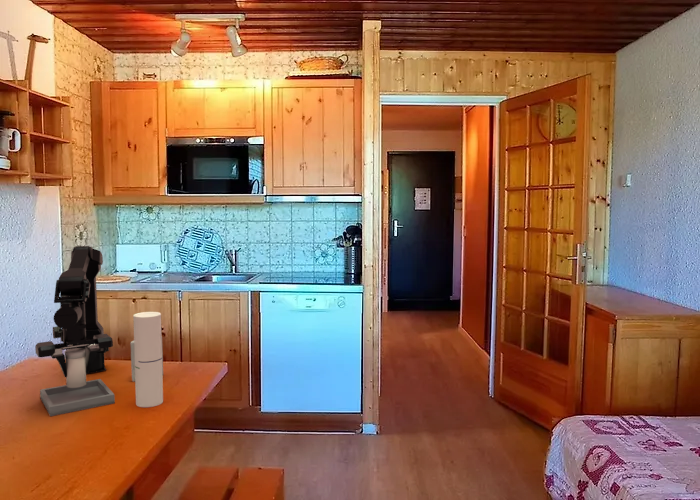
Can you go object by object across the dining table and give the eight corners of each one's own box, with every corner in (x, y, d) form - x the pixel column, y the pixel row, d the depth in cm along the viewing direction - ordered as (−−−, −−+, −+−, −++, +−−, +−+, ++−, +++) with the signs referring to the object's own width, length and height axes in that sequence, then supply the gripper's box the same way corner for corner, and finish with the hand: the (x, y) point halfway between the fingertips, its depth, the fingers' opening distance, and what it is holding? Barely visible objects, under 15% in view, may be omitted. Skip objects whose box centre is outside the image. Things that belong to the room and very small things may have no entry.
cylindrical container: (154, 408, 152) (152, 317, 149) (130, 406, 153) (127, 316, 151) (167, 398, 159) (165, 312, 156) (145, 396, 160) (142, 311, 158)
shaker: (84, 380, 160) (83, 347, 159) (88, 385, 156) (87, 351, 155) (64, 384, 157) (63, 349, 156) (68, 389, 153) (66, 354, 152)
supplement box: (164, 374, 180) (163, 336, 178) (153, 382, 172) (152, 342, 171) (142, 374, 180) (141, 335, 179) (130, 381, 173) (129, 341, 172)
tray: (100, 386, 168) (100, 378, 168) (114, 403, 155) (114, 394, 155) (40, 398, 158) (39, 389, 158) (50, 416, 146) (49, 407, 145)
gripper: (102, 311, 166) (104, 362, 168) (31, 319, 155) (33, 373, 157) (112, 318, 158) (114, 371, 159) (37, 327, 146) (40, 384, 148)
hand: (76, 375), depth 156 cm, fingers closed on shaker, 5 cm apart
